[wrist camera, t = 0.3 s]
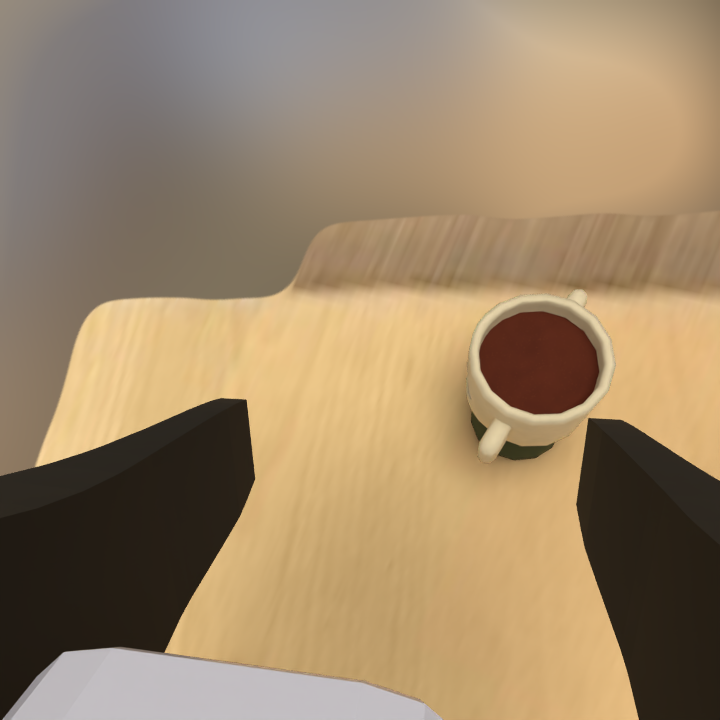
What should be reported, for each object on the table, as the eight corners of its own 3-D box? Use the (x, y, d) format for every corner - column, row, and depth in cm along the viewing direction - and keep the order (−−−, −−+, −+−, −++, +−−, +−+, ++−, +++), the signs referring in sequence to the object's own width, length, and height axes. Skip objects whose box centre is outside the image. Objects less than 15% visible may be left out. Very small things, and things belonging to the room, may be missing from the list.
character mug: (507, 334, 42) (528, 242, 30) (597, 380, 39) (660, 300, 27) (432, 456, 39) (421, 409, 27) (523, 512, 37) (554, 488, 25)
